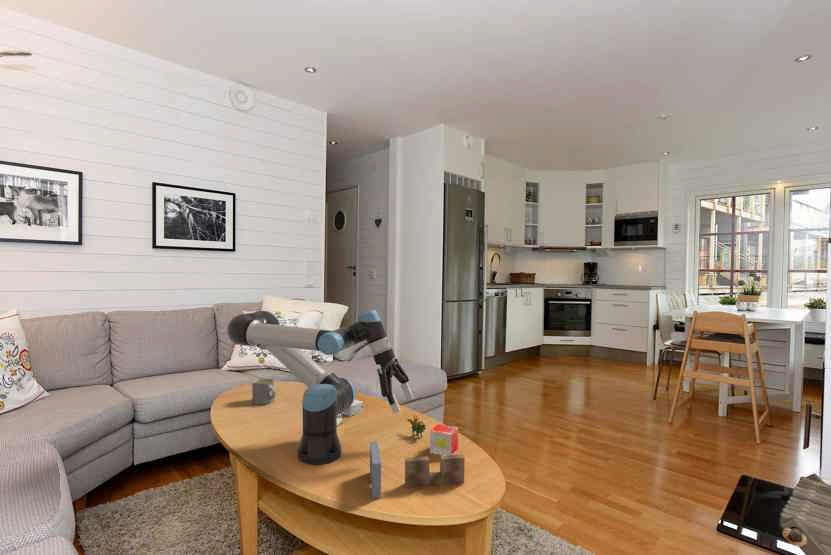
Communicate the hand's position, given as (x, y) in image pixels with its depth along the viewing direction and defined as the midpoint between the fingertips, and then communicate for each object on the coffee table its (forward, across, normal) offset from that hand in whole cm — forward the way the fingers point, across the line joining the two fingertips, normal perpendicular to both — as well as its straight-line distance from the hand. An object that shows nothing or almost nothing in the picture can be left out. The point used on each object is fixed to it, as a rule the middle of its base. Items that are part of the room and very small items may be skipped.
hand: (403, 406), depth 159 cm
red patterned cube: (+20, +3, -7) cm, 22 cm away
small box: (+1, +27, +40) cm, 48 cm away
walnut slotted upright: (+21, -21, -10) cm, 32 cm away
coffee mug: (-17, +26, +81) cm, 87 cm away
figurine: (+15, +12, +6) cm, 20 cm away
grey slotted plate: (+14, -28, +5) cm, 32 cm away
